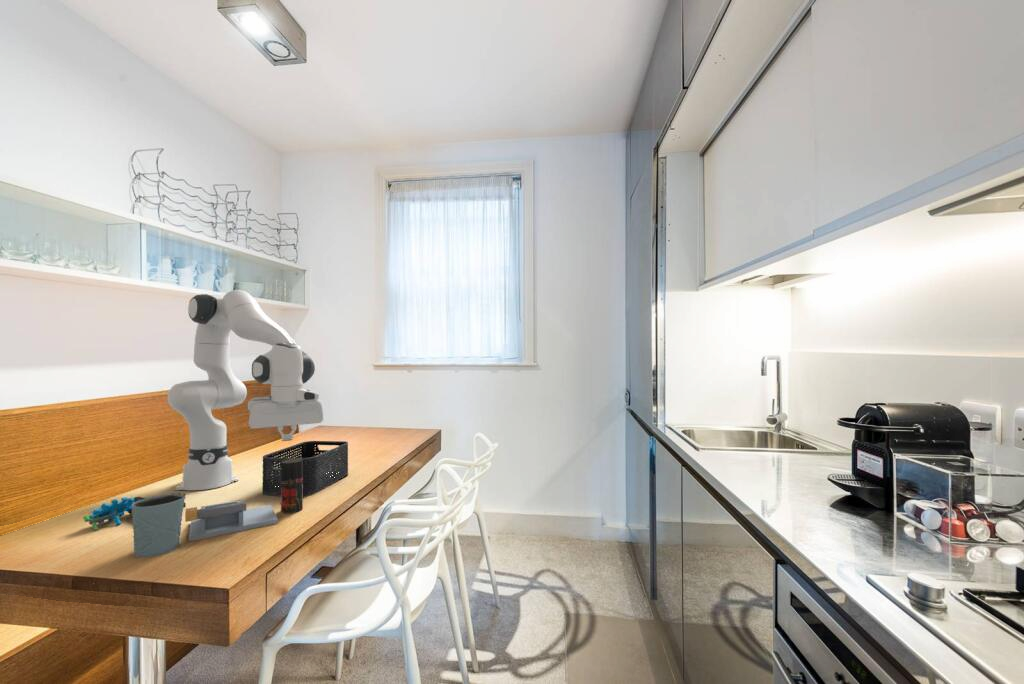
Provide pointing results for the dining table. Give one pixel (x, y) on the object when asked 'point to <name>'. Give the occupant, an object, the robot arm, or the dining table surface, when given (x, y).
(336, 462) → the storage bin
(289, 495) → the deodorant
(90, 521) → the blue green toy
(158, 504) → the embossed plant pot
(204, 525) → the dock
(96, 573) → the dining table surface
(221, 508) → the latch bar
